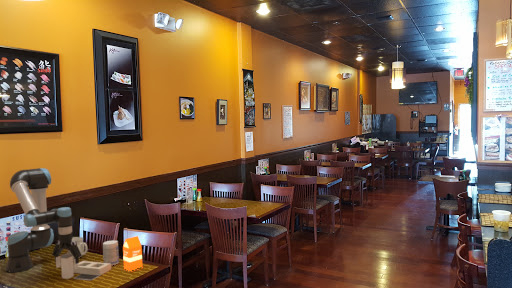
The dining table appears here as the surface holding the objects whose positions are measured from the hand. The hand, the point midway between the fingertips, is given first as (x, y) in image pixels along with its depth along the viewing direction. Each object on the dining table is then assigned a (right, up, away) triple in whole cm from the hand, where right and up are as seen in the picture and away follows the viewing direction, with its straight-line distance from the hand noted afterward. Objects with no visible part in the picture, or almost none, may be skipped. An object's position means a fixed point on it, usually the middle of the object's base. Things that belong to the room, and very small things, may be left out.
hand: (67, 268), depth 234 cm
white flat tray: (+11, -5, +9) cm, 15 cm away
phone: (+12, -6, -1) cm, 14 cm away
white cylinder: (0, -6, 0) cm, 6 cm away
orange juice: (+36, -4, +11) cm, 38 cm away
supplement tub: (+19, -5, +21) cm, 29 cm away
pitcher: (-12, -5, +38) cm, 40 cm away
